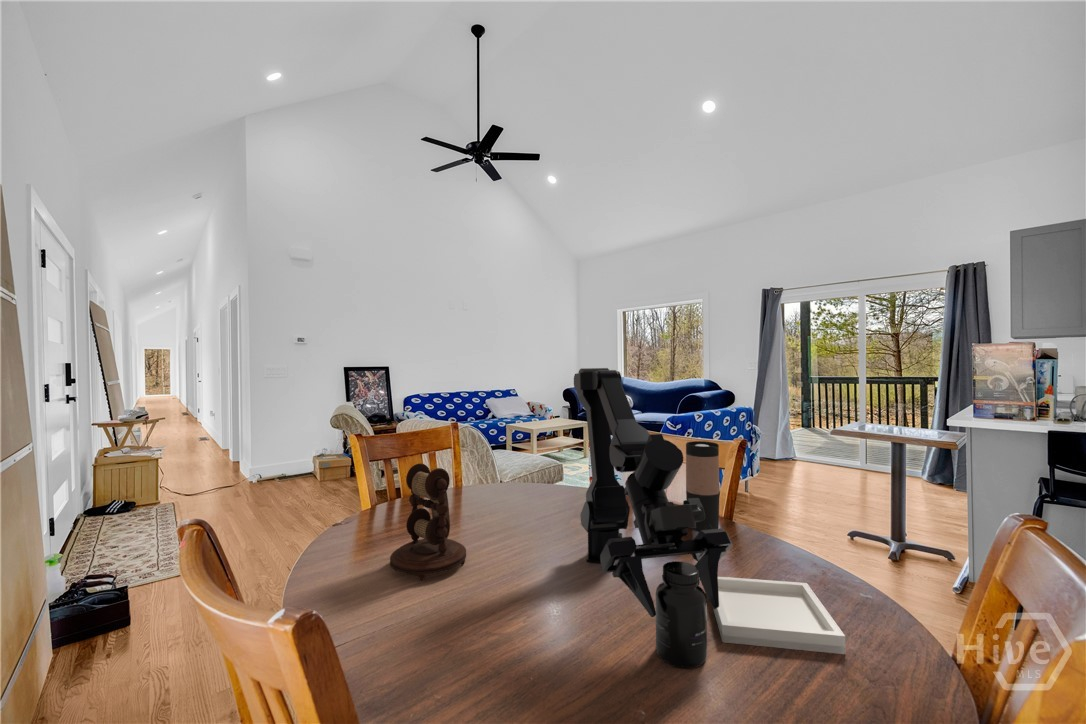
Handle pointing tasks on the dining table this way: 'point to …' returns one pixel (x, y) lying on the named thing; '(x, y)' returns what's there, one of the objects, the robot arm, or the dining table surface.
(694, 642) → the supplement bottle
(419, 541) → the thread spool stand
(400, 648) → the dining table surface
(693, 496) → the travel mug
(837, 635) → the tray
